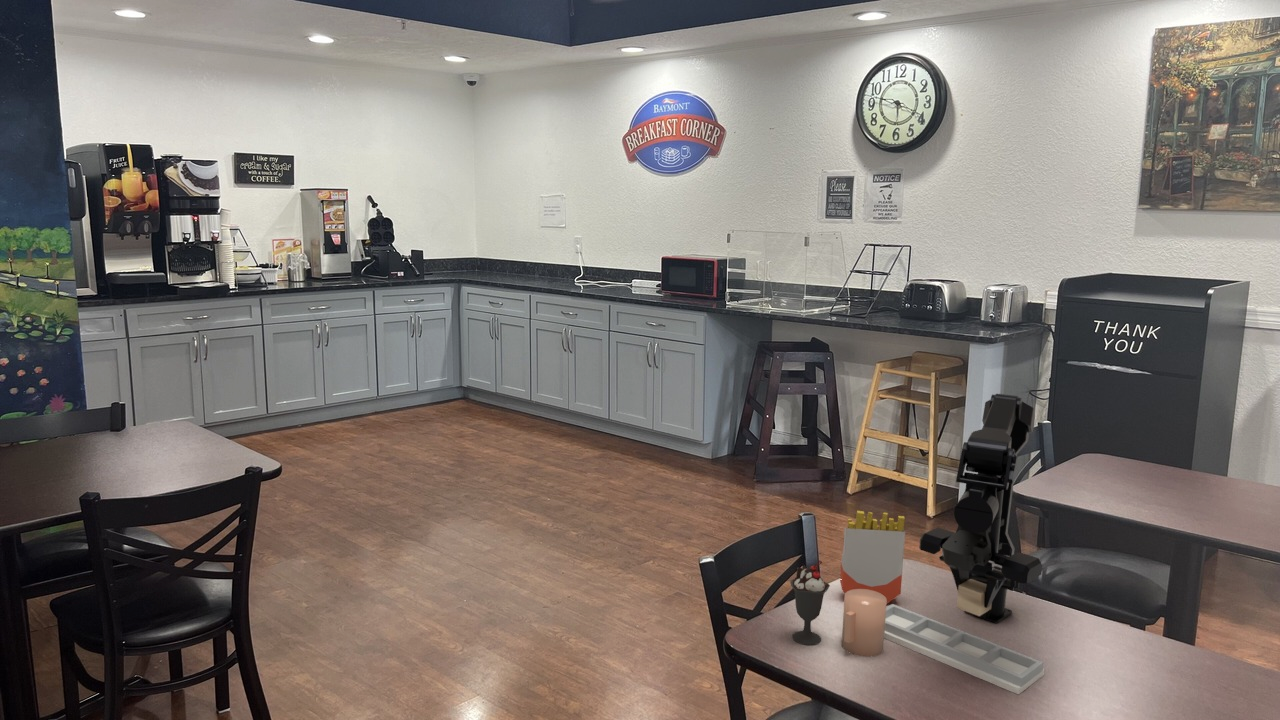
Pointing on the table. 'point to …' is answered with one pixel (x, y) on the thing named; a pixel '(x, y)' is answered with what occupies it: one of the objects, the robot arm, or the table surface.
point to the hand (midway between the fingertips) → (974, 602)
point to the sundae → (808, 601)
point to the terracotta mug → (864, 622)
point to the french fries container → (873, 555)
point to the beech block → (972, 597)
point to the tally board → (962, 650)
